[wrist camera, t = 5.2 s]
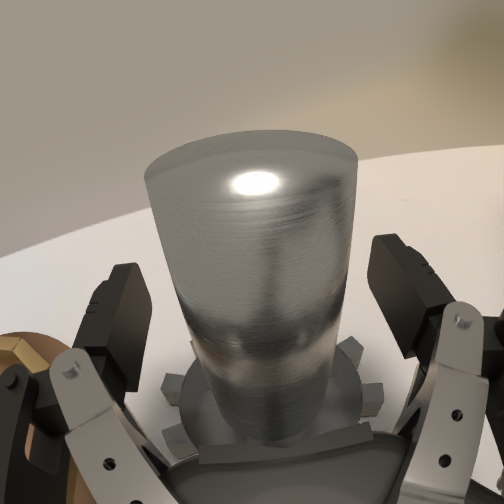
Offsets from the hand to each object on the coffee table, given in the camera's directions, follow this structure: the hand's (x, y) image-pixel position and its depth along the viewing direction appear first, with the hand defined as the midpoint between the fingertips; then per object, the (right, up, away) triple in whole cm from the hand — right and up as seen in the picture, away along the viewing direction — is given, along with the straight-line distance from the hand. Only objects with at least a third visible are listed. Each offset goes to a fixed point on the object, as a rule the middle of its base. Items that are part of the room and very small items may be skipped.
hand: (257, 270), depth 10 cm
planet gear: (+1, -6, +2) cm, 7 cm away
